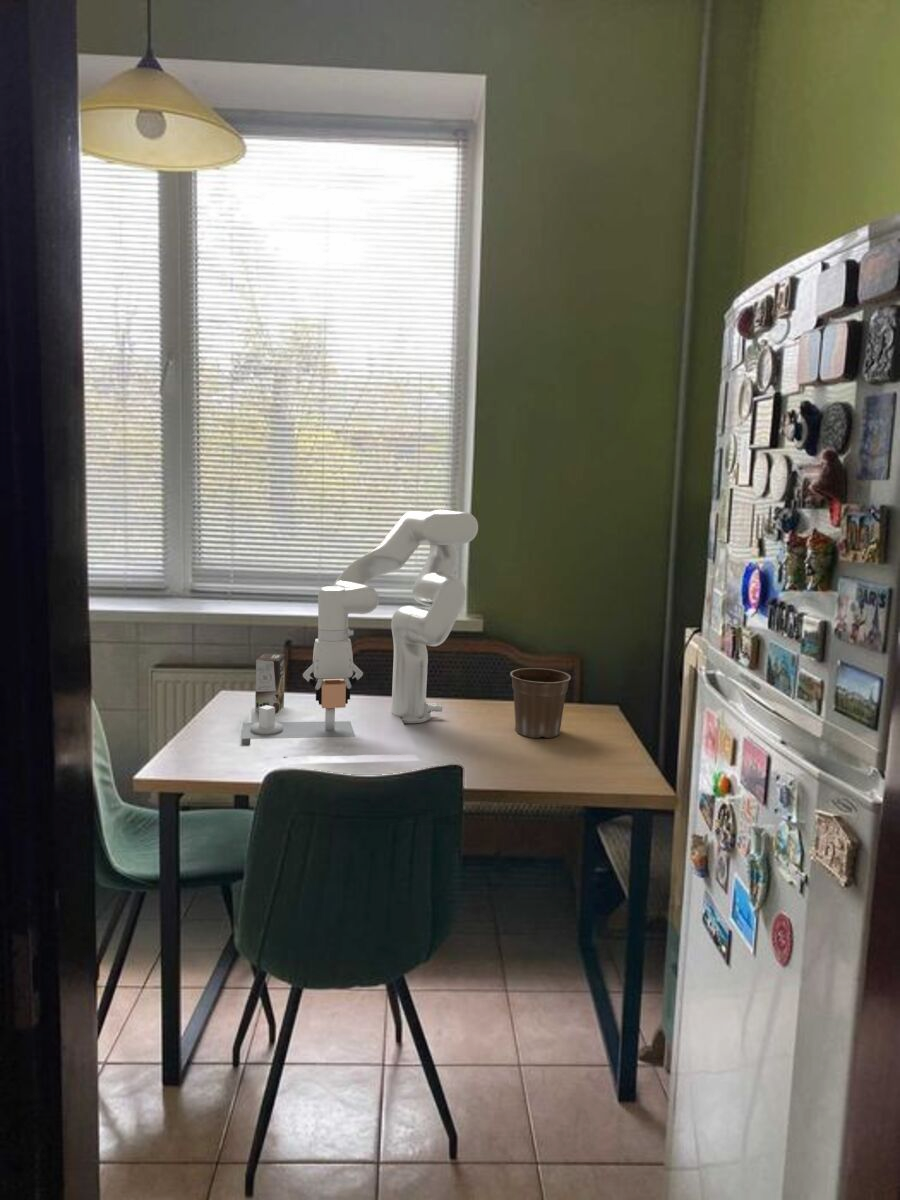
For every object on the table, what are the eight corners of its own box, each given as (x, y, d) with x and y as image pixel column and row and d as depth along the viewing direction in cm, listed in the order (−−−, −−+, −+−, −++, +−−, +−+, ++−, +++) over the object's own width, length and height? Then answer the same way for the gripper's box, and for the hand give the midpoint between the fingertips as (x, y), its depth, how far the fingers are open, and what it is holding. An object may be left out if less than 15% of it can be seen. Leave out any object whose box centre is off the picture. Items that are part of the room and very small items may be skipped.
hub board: (350, 726, 233) (351, 699, 232) (355, 742, 221) (356, 713, 220) (242, 728, 227) (243, 700, 226) (242, 744, 215) (242, 715, 214)
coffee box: (277, 718, 237) (278, 660, 235) (254, 717, 238) (255, 659, 235) (284, 709, 246) (285, 653, 244) (262, 707, 247) (263, 652, 244)
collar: (343, 700, 229) (343, 678, 228) (345, 707, 223) (345, 684, 222) (320, 701, 227) (320, 679, 226) (321, 708, 222) (322, 685, 221)
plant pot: (497, 734, 234) (500, 675, 231) (520, 719, 248) (524, 664, 245) (553, 745, 226) (558, 685, 224) (574, 730, 240) (579, 673, 238)
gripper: (365, 631, 227) (364, 697, 231) (298, 632, 224) (298, 699, 227) (368, 637, 220) (367, 705, 223) (299, 638, 216) (299, 708, 220)
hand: (332, 702), depth 225 cm, fingers closed on collar, 6 cm apart
